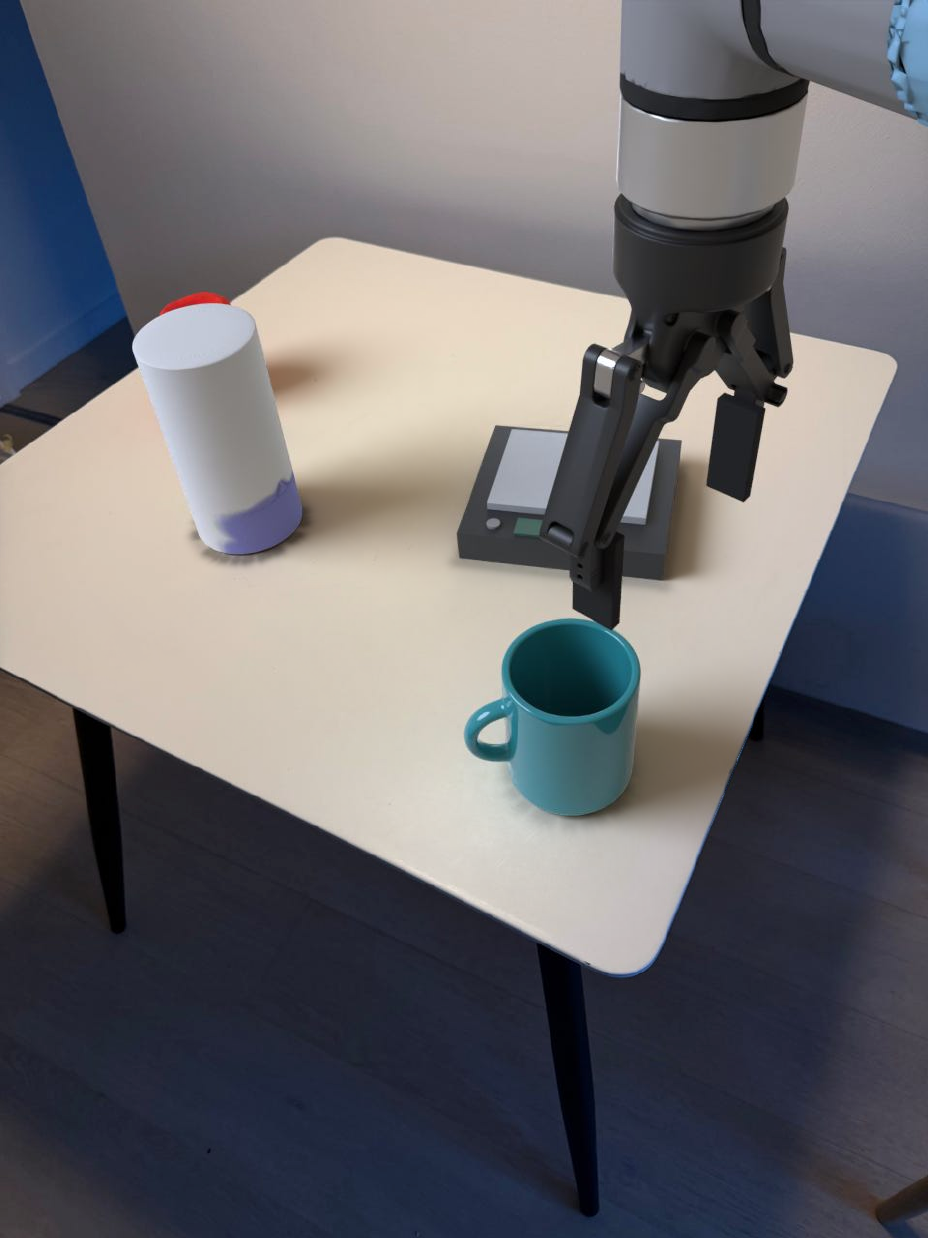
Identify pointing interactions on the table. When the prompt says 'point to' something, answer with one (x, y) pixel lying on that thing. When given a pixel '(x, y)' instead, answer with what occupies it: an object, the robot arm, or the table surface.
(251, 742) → the table surface
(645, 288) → the robot arm
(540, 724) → the cup
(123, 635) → the table surface
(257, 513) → the container
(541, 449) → the scale
